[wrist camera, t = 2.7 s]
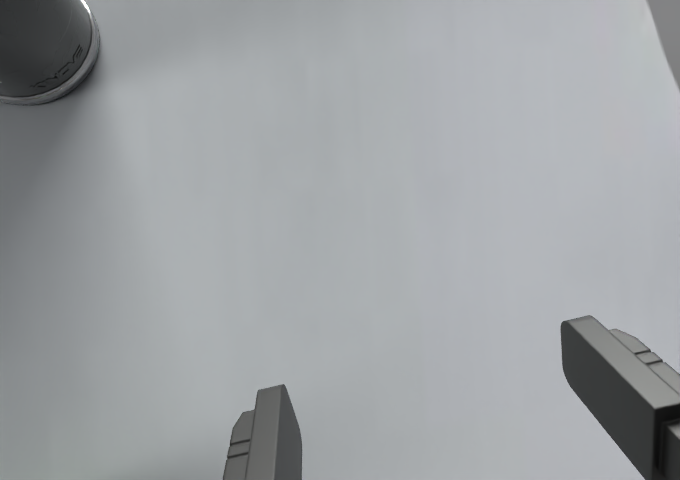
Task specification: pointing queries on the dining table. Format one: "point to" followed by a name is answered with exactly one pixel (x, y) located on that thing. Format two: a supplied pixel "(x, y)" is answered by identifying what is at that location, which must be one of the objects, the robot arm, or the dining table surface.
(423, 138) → the dining table surface
